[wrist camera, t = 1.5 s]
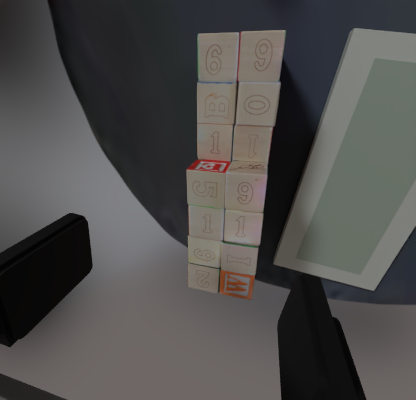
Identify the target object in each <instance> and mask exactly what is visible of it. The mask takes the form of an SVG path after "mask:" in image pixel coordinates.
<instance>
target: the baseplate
mask: <svg viewBox="0 0 416 400" xmlns="http://www.w3.org/2000/svg"><path fill="white" fill-rule="evenodd" d="M415 226H416V34H410V33H400V32H389V31H379V30H368V29H358V28H354V29H353V30H351V31H350V33H349V36H348V39H347V42H346V45H345V48H344V51H343V54H342V57H341V60H340V63H339V66H338V69H337V72H336V75H335V77H334V80H333V83H332V86H331V89H330V92H329V95H328V98H327V101H326V104H325V107H324V110H323V113H322V116H321V119H320V122H319V125H318V128H317V131H316V134H315V137H314V140H313V143H312V146H311V149H310V152H309V155H308V158H307V161H306V164H305V167H304V170H303V173H302V175H301V178H300V181H299V184H298V187H297V190H296V193H295V196H294V199H293V202H292V205H291V208H290V211H289V214H288V217H287V220H286V223H285V226H284V229H283V232H282V235H281V238H280V241H279V244H278V247H277V250H276V253H275V256H274V259H273V263H274V265H278V266H281V267H285V268H289V269H293V270H296V271H300V272H304V273H308V274H312V275H315V276H319V277H323V278H327V279H330V280H334V281H338V282H342V283H345V284H349V285H353V286H357V287H361V288H364V289H368V290H372V291H374V290H375V288H376V287H377V285H378V284H379V282H380V281H381V279H382V277H383V276H384V274H385V273H386V271H387V270H388V268H389V267H390V265H391V263H392V262H393V260H394V259H395V257H396V256H397V254H398V252H399V251H400V249H401V248H402V246H403V245H404V243H405V241H406V240H407V238H408V237H409V235H410V234H411V232H412V230H413V229H414V227H415Z"/></svg>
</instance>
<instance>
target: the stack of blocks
mask: <svg viewBox="0 0 416 400" xmlns="http://www.w3.org/2000/svg"><path fill="white" fill-rule="evenodd" d="M285 36H286V30H272V31H242V32H240V33H209V34H198V38H197V43H198V83H197V122H198V124H197V154H198V160H196V161H195V162H194V163H193V164H192V165H191V166H190V167H189V168H188V169H187V200H188V205H189V235H188V260H189V263H188V286H189V287H190V288H195V289H200V290H204V291H209V292H213V293H218V292H219V293H220V294H223V295H228V296H233V297H238V298H244V299H248V300H251V299H252V294H253V287H254V279H255V274H256V267H257V257H258V246H259V245H260V241H261V233H262V224H263V211H264V203H265V194H266V186H267V178H268V162H269V154H270V147H271V140H272V133H273V127H274V126H275V122H276V116H277V109H278V102H279V95H280V87H281V82H280V73H281V65H282V58H283V52H284V45H285Z"/></svg>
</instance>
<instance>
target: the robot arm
mask: <svg viewBox="0 0 416 400" xmlns="http://www.w3.org/2000/svg"><path fill="white" fill-rule="evenodd" d="M91 269H92V255H91V246H90V237H89V229H88V222H87V220H86V219H85V217H84V216H82V215H78V214H74V213H69V214H67V215H65V216H63V217H62V218H60V219H58V220H57V221H55V222H53V223H51V224H50V225H48V226H46V227H44V228H43V229H41V230H39V231H38V232H36V233H34V234H33V235H31V236H29V237H27V238H25V239H24V240H22V241H20V242H18V243H17V244H15V245H13V246H12V247H10V248H8V249H6V250H5V251H3V252H1V253H0V344H3V345H6V346H8V347H11V346H12V345H13V344H14V343H15V342H16V341H17V340H18V339H21V338H23V337H24V336H26V335H27V334H28V333H29V332H30V331H31V330H32V329H33V328H34V327H35V326H36V325H37V324H38V323H39V322H40V321H41V320H42V319H43V318H44V317H45V316H46V315H47V314H48V313H49V312H50V311H51V310H52V309H53V308H54V307H55V306H56V305H57V304H58V303H59V302H60V301H61V300H62V299H63V298H64V297H65V296H66V295H67V294H68V293H69V292H70V291H71V290H72V289H73V288H74V287H76V285H78V284H79V283H80V282H81V281H82V280H83V279H84V278H85V276H87V275H88V274H89V273H90V271H91ZM277 330H278V348H279V365H280V383H281V398H282V399H281V400H366V397H365V394H364V391H363V388H362V385H361V382H360V379H359V377H358V374H357V371H356V368H355V365H354V362H353V359H352V356H351V353H350V350H349V347H348V344H347V341H346V338H345V335H344V332H343V330H342V327H341V324H340V322H339V320H338V319H337V318H334V317H332V315H331V311H330V308H329V305H328V302H327V298H326V295H325V292H324V289H323V286H322V282H321V279H320V277H318V276H315V275H311V274H307V273H303V274H302V275H301V276H300V275H297V276H296V279H295V281H294V283H293V286H292V288H291V291H290V293H289V296H288V298H287V301H286V303H285V305H284V308H283V310H282V313H281V315H280V318H279V320H278V327H277ZM0 400H66V399H64V398H61V397H59V396H56V395H54V394H51V393H49V392H46V391H44V390H41V389H39V388H36V387H34V386H31V385H28V384H26V383H23V382H21V381H18V380H15V379H13V378H10V377H8V376H5V375H3V374H0Z"/></svg>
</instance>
